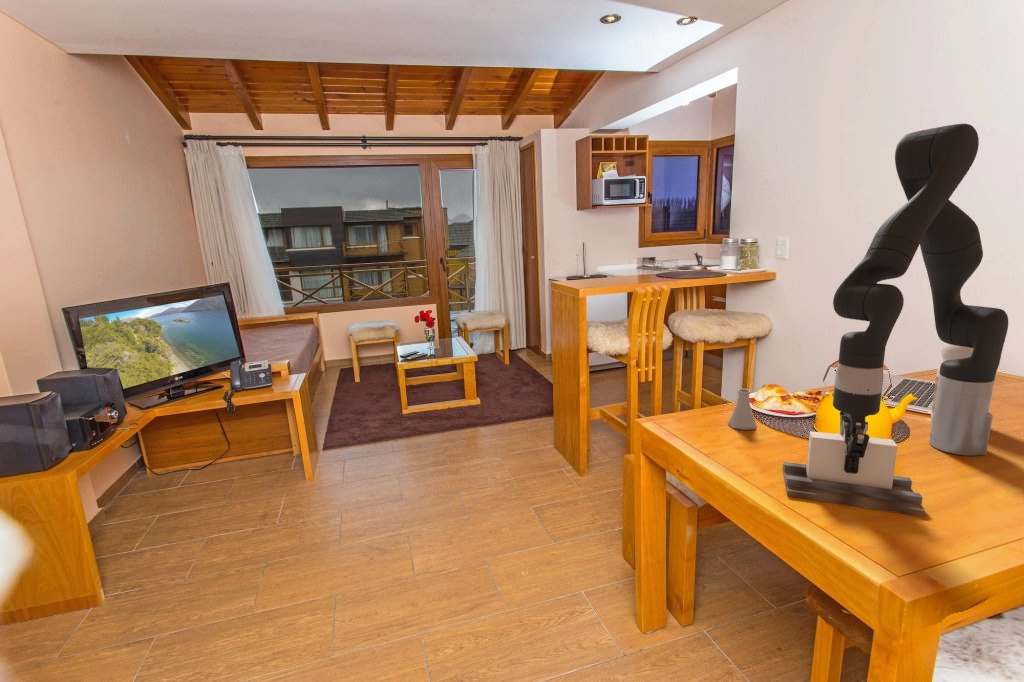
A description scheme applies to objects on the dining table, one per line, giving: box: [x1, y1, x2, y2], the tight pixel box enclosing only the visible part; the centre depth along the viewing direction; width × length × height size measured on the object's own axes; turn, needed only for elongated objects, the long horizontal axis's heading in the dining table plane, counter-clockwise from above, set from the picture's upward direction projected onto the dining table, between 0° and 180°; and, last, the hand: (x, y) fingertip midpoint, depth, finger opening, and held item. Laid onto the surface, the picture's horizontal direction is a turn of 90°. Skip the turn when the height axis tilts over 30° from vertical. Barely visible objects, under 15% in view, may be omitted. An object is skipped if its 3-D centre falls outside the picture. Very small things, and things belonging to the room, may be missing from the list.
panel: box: [806, 430, 898, 489], centre depth 98 cm, size 14×3×9 cm, turn 66°
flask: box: [727, 388, 757, 431], centre depth 132 cm, size 7×7×10 cm
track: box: [782, 461, 926, 518], centre depth 99 cm, size 22×12×3 cm, turn 66°
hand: (848, 468), depth 99 cm, fingers closed on panel, 3 cm apart
